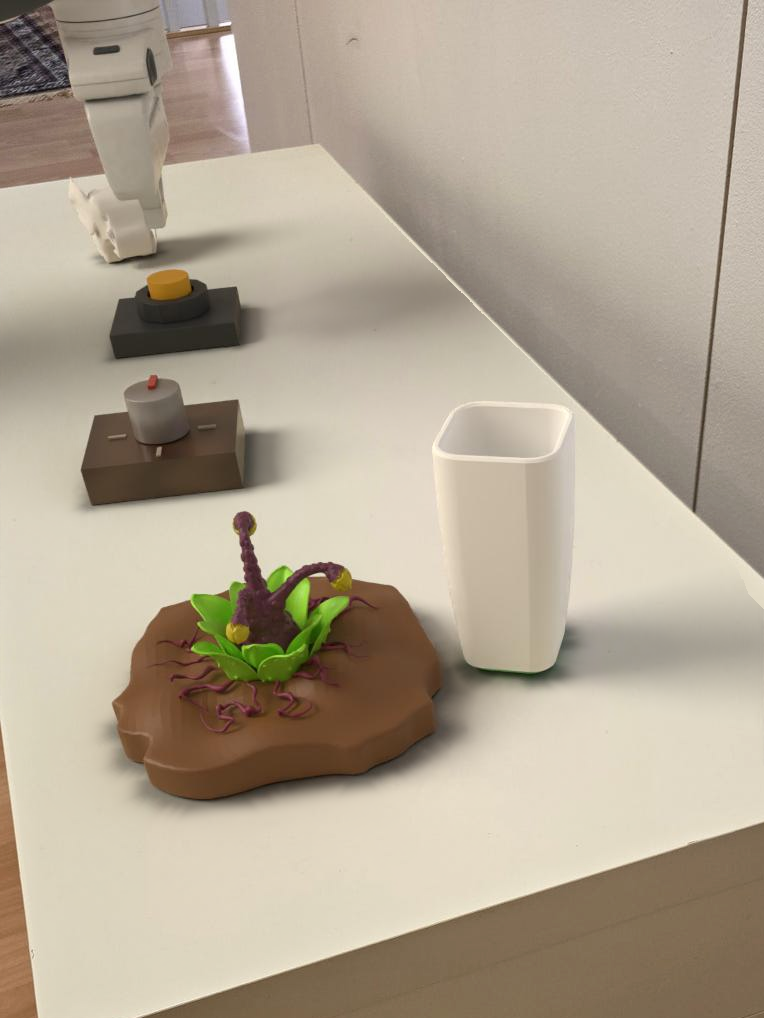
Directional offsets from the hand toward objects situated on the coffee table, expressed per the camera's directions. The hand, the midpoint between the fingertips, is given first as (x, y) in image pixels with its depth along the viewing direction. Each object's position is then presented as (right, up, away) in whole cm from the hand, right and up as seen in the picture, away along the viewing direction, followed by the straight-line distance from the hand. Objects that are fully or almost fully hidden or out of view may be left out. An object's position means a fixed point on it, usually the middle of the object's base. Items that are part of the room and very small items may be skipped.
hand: (158, 224), depth 115 cm
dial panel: (+5, -28, -15) cm, 32 cm away
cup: (+33, -46, -37) cm, 67 cm away
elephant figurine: (-10, +9, +25) cm, 28 cm away
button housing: (0, -7, +7) cm, 10 cm away
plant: (+18, -49, -38) cm, 64 cm away
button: (0, -5, +4) cm, 6 cm away
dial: (+5, -25, -17) cm, 31 cm away
